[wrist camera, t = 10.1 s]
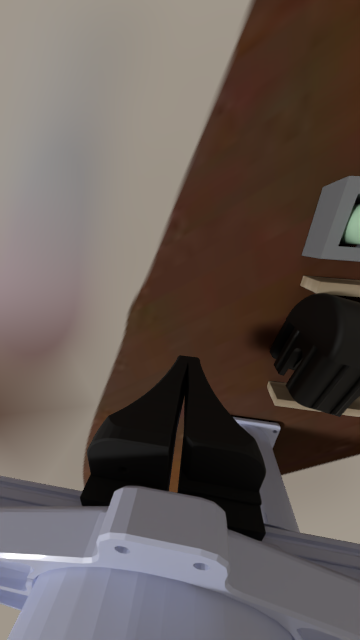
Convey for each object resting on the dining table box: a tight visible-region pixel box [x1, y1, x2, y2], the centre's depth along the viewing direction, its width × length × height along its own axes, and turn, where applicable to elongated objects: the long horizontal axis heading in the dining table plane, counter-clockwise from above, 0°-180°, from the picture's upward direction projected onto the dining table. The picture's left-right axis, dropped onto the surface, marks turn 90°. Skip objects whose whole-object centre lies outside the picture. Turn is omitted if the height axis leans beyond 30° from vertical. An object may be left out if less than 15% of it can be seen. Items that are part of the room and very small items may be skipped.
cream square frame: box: [267, 276, 360, 417], centre depth 16 cm, size 12×10×2 cm
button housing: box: [302, 176, 360, 262], centre depth 12 cm, size 4×4×2 cm
